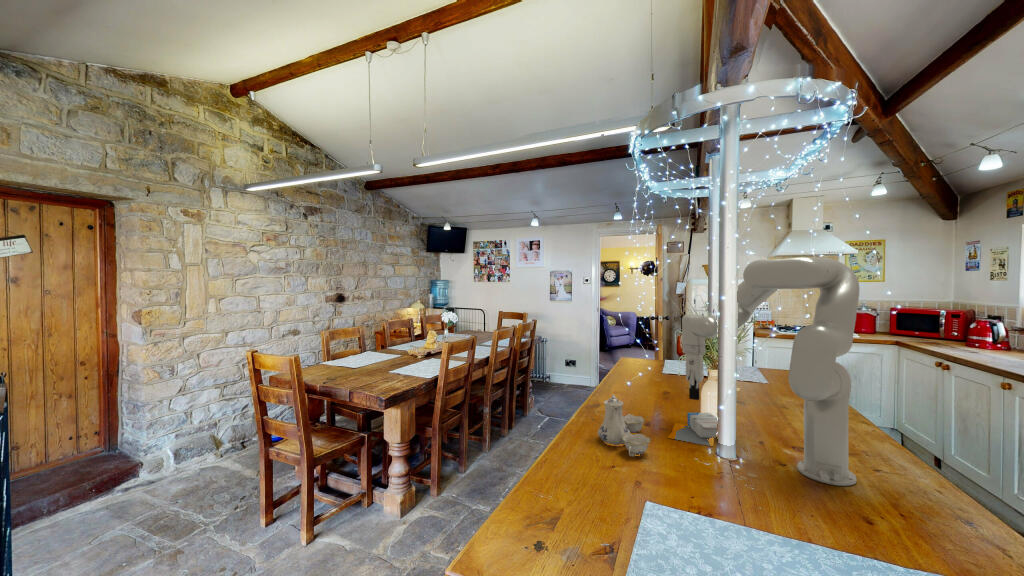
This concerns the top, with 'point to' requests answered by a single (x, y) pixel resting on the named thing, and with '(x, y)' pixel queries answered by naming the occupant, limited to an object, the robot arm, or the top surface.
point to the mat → (690, 436)
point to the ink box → (703, 424)
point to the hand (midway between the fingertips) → (694, 398)
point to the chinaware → (622, 428)
